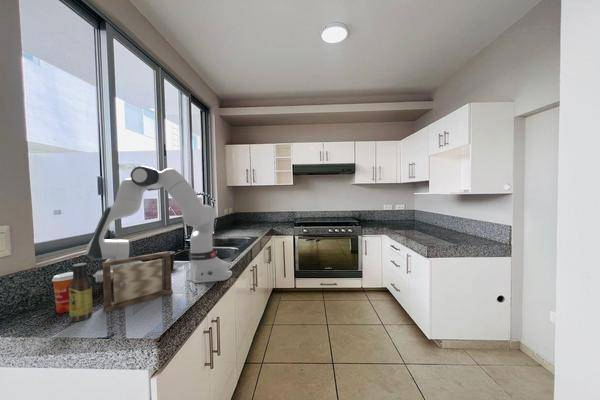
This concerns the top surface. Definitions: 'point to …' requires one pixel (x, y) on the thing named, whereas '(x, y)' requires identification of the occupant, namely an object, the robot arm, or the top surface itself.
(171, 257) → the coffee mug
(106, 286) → the brown wooden frame
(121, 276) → the birch door
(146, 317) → the top surface
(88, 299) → the sauce bottle
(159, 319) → the top surface
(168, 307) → the top surface
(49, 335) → the top surface
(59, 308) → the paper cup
